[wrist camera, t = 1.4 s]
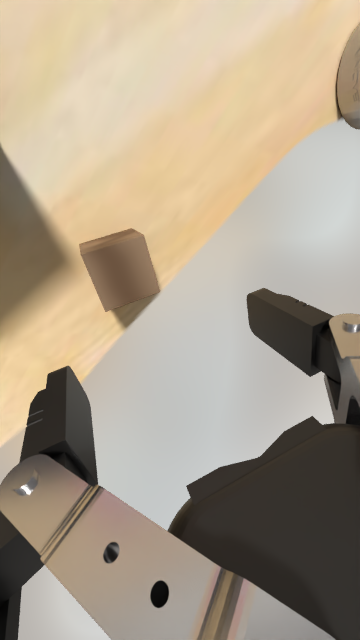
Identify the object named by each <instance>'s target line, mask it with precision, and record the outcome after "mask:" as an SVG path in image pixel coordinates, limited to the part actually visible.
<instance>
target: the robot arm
mask: <svg viewBox="0 0 360 640" xmlns="http://www.w3.org/2000/svg"><path fill="white" fill-rule="evenodd" d="M337 96H338V103H339V108H340V111H341V114H342V116H343V118H344V119H345V121H346V122H347V123H348V124H349V125H350V126H351V127H353V128H355V129H360V23H359V25H358V26H357V27H356V29H355V30H354V31H353V33H352V35H351V37H350V39H349V40H348V42H347V45H346V47H345V50H344V53H343V55H342V59H341V63H340V67H339V73H338V80H337ZM247 308H248V318H249V325H250V328H251V330H252V332H253V333H254V335H255V336H257V337H258V338H259V339H261V340H262V341H263V342H265V343H266V344H267V345H269V346H270V347H271V348H273V349H274V350H275V351H277V352H278V353H279V354H281V355H282V356H283V357H285V358H286V359H287V360H289V361H290V362H291V363H293V364H294V365H295V366H297V367H298V368H299V369H301V370H302V371H303V372H305V373H306V374H307V375H308V376H310V377H311V376H313V375H315V374H317V373H318V372H320V371H322V372H323V373H325V375H324V381H325V385H326V389H327V393H328V397H329V401H330V405H331V409H332V412H333V416H334V422H335V423H333V424H324V425H322V424H320V423H319V422H318V421H317V420H316V419H315V418H314V417H313V416H311V417H310V418H308V419H306V420H304V421H302V422H301V423H299V424H297V425H295V426H293V427H292V428H290V429H288V430H286V431H284V432H283V433H282V434H281V435H280V436H279V438H278V439H277V440H276V441H275V442H274V443H273V444H272V445H271V446H270V447H269V448H268V449H267V450H266V451H265V452H264V453H263V454H262V455H261V456H260V457H258V458H255V459H251V460H247V461H244V462H239V463H235V464H231V465H228V466H223V467H220V468H218V469H216V470H214V471H212V472H211V473H209V474H207V475H205V476H203V477H202V478H200V479H198V480H196V481H194V482H193V483H191V484H189V485H187V486H186V487H187V489H188V491H189V494H190V497H191V498H190V499H189V500H188V501H187V502H186V503H185V504H184V505H183V506H182V508H181V509H180V510H179V512H178V513H177V514H176V516H175V518H174V519H173V521H172V523H171V525H170V527H169V529H168V531H166V530H165V529H163V528H162V527H160V526H159V525H157V524H156V523H154V522H153V521H151V520H150V519H148V518H147V517H146V516H144V515H143V514H141V513H140V512H138V511H137V510H135V509H134V508H132V507H131V506H129V505H128V504H126V503H124V502H123V501H122V500H120V499H119V498H117V497H116V496H115V495H113V494H111V493H110V492H109V491H107V490H106V489H104V488H103V487H101V486H99V485H98V478H97V468H96V459H95V448H94V438H93V428H92V417H91V407H90V403H89V400H88V398H87V395H86V393H85V391H84V390H83V388H82V386H81V384H80V383H79V381H78V379H77V377H76V376H75V374H74V372H73V370H72V369H71V368H70V367H69V366H66V367H63V368H61V369H58V370H56V371H53V372H51V373H49V374H48V376H47V384H46V389H44V390H41V391H39V392H38V393H37V395H36V396H35V398H34V399H33V401H32V402H31V404H30V409H29V417H28V420H27V427H26V431H25V436H24V442H23V446H22V452H21V457H20V462H19V464H18V465H17V466H15V467H14V468H13V469H12V470H11V471H10V472H9V473H8V475H7V476H6V477H5V478H4V480H3V481H2V483H1V485H0V640H18V628H19V615H20V602H21V589H22V586H23V585H24V584H25V583H26V582H27V581H28V580H29V579H30V578H31V577H32V576H33V575H34V574H35V573H36V572H37V571H39V570H40V569H41V568H42V567H43V565H46V567H47V568H48V569H49V570H50V571H51V572H52V573H53V575H54V576H55V577H56V578H57V579H58V580H59V581H60V582H61V584H62V585H63V586H64V587H65V588H66V589H67V590H68V591H69V593H70V594H71V595H72V596H73V597H74V598H75V599H76V600H77V601H78V603H79V604H80V605H81V606H82V607H83V608H84V609H85V610H86V612H87V613H88V614H89V615H90V616H91V617H92V618H93V619H94V621H95V622H96V623H97V624H98V625H99V626H100V627H101V628H102V630H104V632H105V633H106V634H107V635H108V636H109V637H110V638H111V640H360V315H359V314H340V315H337V316H332V315H330V314H328V313H325V312H323V311H321V310H319V309H317V308H314V307H312V306H310V305H307V304H306V303H303V302H301V301H300V302H299V300H297V299H295V298H293V297H290V296H287V295H281V294H276V293H274V292H272V291H270V290H268V289H265V288H262V289H260V290H257V291H255V292H252V293H250V294H248V295H247Z"/></svg>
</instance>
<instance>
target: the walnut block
mask: <svg viewBox="0 0 360 640" xmlns="http://www.w3.org/2000/svg"><path fill="white" fill-rule="evenodd" d="M79 245H80V252H81V256H82V258H83V261H84V263H85V265H86V268H87V270H88V272H89V275H90V277H91V279H92V282H93V284H94V286H95V289H96V291H97V293H98V296H99V298H100V300H101V303H102V305H103V307H104V310H105V312H107V311H109V310H112V309H115V308H118V307H120V306H123V305H126V304H128V303H131V302H134V301H137V300H139V299H142V298H145V297H148V296H150V295H153V294H156V293H158V292H160V289H159V286H158V282H157V279H156V276H155V272H154V269H153V265H152V262H151V258H150V255H149V251H148V248H147V245H146V241H145V238H144V235H143V234H141V233H139V232H137V231H135V230H134V229H132V228H131V229H128V230H124V231H121V232H118V233H115V234H111V235H108V236H105V237H101V238H98V239H95V240H92V241H88V242H85V243H82V244H79Z"/></svg>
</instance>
